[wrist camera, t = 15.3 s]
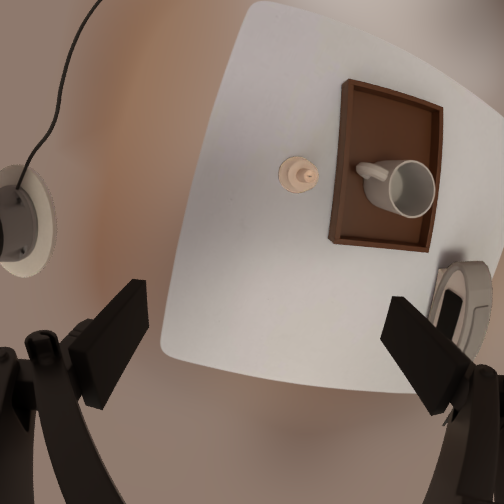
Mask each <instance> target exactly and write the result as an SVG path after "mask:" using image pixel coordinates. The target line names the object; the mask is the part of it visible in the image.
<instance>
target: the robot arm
mask: <svg viewBox="0 0 504 504" xmlns="http://www.w3.org/2000/svg"><path fill="white" fill-rule="evenodd" d="M101 1H102V0H98V1H97V2H96V3H95V5H94V6H93V7H92V9H91V10H90V11H89V13H88V14H87V16H86V17H85V19H84V21H83V22H82V24H81V26H80V28H79V30H78V32H77V34H76V36H75V38H74V41H73V43H72V45H71V48H70V50H69V53H68V56H67V59H66V63H65V66H64V70H63V74H62V78H61V82H60V86H59V91H58V97H57V105H56V111H55V115H54V118H53V121H52V124H51V126H50V128H49V130H48V132H47V133H46V135H45V136H44V137H43V139H42V140H41V141H40V142H39V143H38V144H37V146H36V147H35V148H34V150H33V151H32V153H31V154H30V156H29V158H28V160H27V162H26V164H25V166H24V169H23V171H22V173H21V176H20V178H19V181H18V183H17V185H7V186H3V187H1V188H0V262H17V261H20V260H23V259H25V258H26V257H28V256H29V255H30V254H31V253H32V251H33V249H34V247H35V245H36V242H37V236H38V219H37V213H36V209H35V206H34V204H33V201H32V199H31V197H30V196H29V194H28V193H27V192H26V191H25V190H24V189H23V188H22V187H20V185H21V182H22V180H23V177H24V175H25V173H26V170H27V168H28V166H29V163H30V161H31V159H32V158H33V156H34V154H35V153H36V151H37V150H38V149H39V148H40V146H41V145H42V144H43V143H44V142H45V141H46V139H47V138H48V137H49V135H50V134H51V132H52V130H53V128H54V126H55V123H56V121H57V117H58V114H59V110H60V104H61V95H62V89H63V85H64V80H65V77H66V73H67V69H68V65H69V62H70V58H71V55H72V52H73V50H74V47H75V45H76V42H77V40H78V38H79V35H80V33H81V31H82V29H83V27H84V25H85V24H86V22H87V20H88V19H89V17H90V15H91V14H92V13H93V11H94V10H95V9H96V7H97V6H98V5H99V3H100V2H101ZM148 321H149V320H148V308H147V292H146V280H138V279H132V280H131V281H130V282H129V283H128V284H127V285H126V286H125V287H124V288H123V289H122V290H121V291H120V292H119V293H118V294H117V295H116V296H115V297H114V298H113V300H111V301H110V302H109V304H108V305H107V306H106V307H105V308H104V309H103V310H102V311H101V312H100V313H99V314H98V315H97V316H96V318H94V320H93V319H86V320H84V321H82V322H80V323H79V324H78V325H77V326H76V327H75V328H74V329H73V331H71V332H70V333H69V334H68V335H67V336H66V337H65V338H64V339H63V340H62V341H61V343H59V342H58V338H57V336H56V334H55V333H54V332H52V331H48V330H39V331H36V332H33V333H31V334H30V335H28V336H27V337H26V339H25V346H26V349H27V352H28V355H29V358H30V360H26V359H18V358H17V355H16V353H15V351H14V350H13V349H12V348H10V347H0V504H34V491H33V443H34V442H33V441H34V428H35V416H36V411H38V412H39V417H40V421H41V426H42V430H43V434H44V438H45V442H46V446H47V450H48V453H49V456H50V460H51V463H52V466H53V469H54V472H55V475H56V478H57V481H58V484H59V486H60V489H61V492H62V494H63V497H64V499H65V502H66V504H126V503H125V501H124V500H123V498H122V496H121V495H120V493H119V491H118V489H117V488H116V486H115V484H114V482H113V480H112V478H111V476H110V475H109V473H108V471H107V469H106V467H105V465H104V463H103V461H102V459H101V457H100V455H99V452H98V450H97V448H96V446H95V444H94V442H93V439H92V437H91V434H90V432H89V430H88V428H87V425H86V422H85V420H84V417H83V415H82V412H81V409H80V407H79V404H78V400H79V398H80V397H81V395H82V397H83V399H84V402H85V405H86V406H90V407H94V408H97V409H100V410H103V408H104V406H105V404H106V403H107V401H108V399H109V397H110V395H111V393H112V391H113V389H114V387H115V386H116V384H117V382H118V380H119V378H120V377H121V375H122V373H123V371H124V370H125V368H126V366H127V364H128V363H129V361H130V359H131V357H132V355H133V354H134V352H135V350H136V348H137V346H138V345H139V343H140V341H141V340H142V338H143V336H144V334H145V333H146V331H147V330H148V328H149V322H148ZM380 340H381V341H382V343H383V344H384V346H385V347H386V348H387V350H388V351H389V353H390V354H391V356H392V357H393V359H394V360H395V362H396V363H397V364H398V366H399V367H400V369H401V370H402V372H403V373H404V375H405V376H406V378H407V379H408V381H409V382H410V384H411V385H412V387H413V388H414V390H415V392H416V393H417V395H418V396H419V397H420V399H421V401H422V402H423V404H424V405H425V407H426V408H427V410H428V412H429V413H430V415H431V416H433V415H437V414H441V413H444V411H445V410H446V408H447V406H448V405H449V403H451V404H452V406H453V409H452V411H451V412H450V414H449V415H448V417H447V419H446V420H445V422H444V423H443V426H445V424H446V423H448V424H447V428H446V433H445V437H444V441H443V444H442V448H441V452H440V456H439V459H438V462H437V465H436V468H435V471H434V474H433V478H432V480H431V483H430V486H429V488H428V491H427V494H426V497H425V499H424V501H423V504H504V375H497V372H496V371H495V370H494V369H493V368H491V367H489V366H487V365H483V364H479V365H477V366H476V365H475V364H474V363H473V362H472V361H471V360H470V358H469V357H468V356H467V355H466V354H465V353H464V352H462V350H461V349H460V348H458V346H457V345H456V344H455V343H454V342H453V341H451V340H450V339H448V338H446V337H445V336H444V335H443V334H442V333H441V332H440V331H439V330H438V329H437V328H436V327H435V326H434V325H433V324H432V323H431V322H430V321H429V320H428V319H427V318H426V317H425V316H424V315H423V314H421V313H420V312H419V311H418V310H417V309H416V308H415V307H414V306H413V305H412V304H411V303H410V302H409V301H408V300H406V299H405V298H404V297H398V296H392V299H391V303H390V306H389V310H388V314H387V317H386V321H385V324H384V328H383V331H382V334H381V338H380ZM493 493H494V501H495V502H493Z"/></svg>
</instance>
